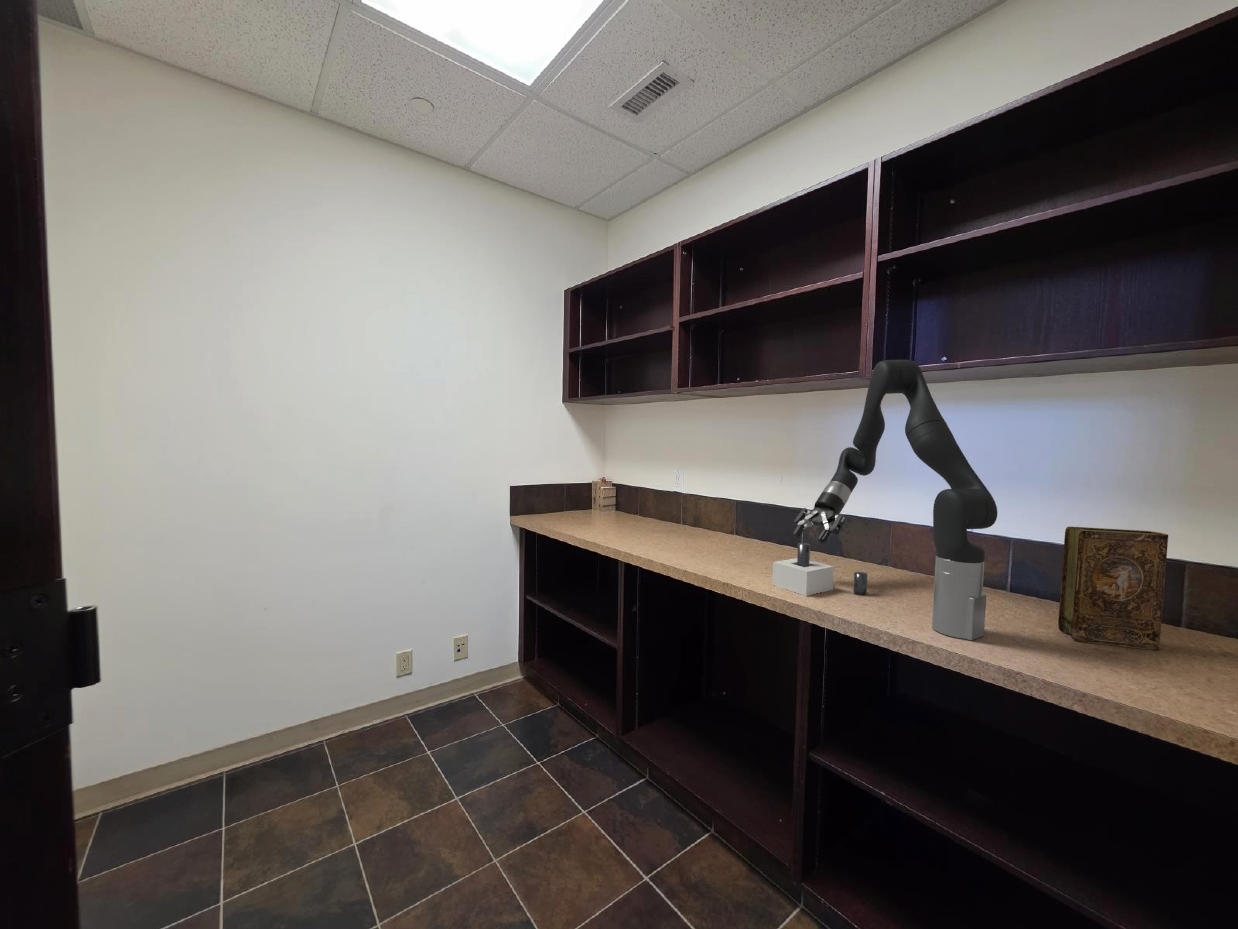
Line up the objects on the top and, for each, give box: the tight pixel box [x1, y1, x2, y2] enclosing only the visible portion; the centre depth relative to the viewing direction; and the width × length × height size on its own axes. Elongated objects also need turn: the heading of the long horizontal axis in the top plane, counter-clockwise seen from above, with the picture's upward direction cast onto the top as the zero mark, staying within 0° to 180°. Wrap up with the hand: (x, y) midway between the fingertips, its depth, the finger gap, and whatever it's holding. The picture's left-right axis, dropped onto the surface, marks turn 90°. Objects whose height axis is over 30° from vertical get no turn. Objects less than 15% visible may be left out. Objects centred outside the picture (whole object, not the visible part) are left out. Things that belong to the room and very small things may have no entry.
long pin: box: [796, 542, 811, 567], centre depth 147 cm, size 3×3×13 cm
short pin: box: [852, 571, 869, 597], centre depth 142 cm, size 3×3×6 cm
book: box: [1057, 526, 1169, 651], centre depth 110 cm, size 16×6×25 cm, turn 73°
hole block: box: [771, 557, 835, 597], centre depth 147 cm, size 12×12×7 cm
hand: (807, 539), depth 147 cm, fingers open, 8 cm apart
